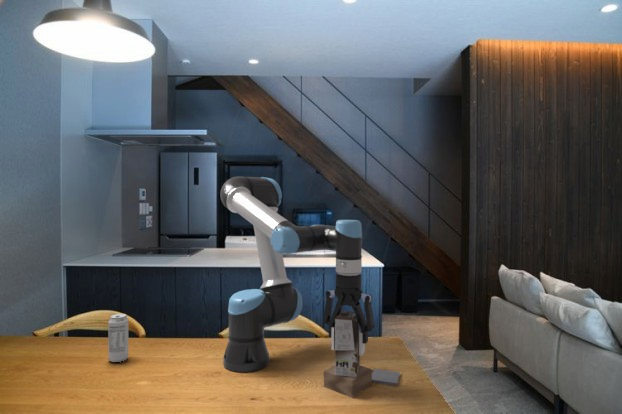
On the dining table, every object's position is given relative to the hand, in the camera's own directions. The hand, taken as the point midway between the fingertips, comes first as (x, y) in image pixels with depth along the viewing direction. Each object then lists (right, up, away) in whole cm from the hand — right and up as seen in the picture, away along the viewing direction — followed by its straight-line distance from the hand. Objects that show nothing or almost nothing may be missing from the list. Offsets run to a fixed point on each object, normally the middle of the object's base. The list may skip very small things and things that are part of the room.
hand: (348, 351), depth 115 cm
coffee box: (0, -6, 0) cm, 6 cm away
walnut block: (0, -11, 0) cm, 11 cm away
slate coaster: (+12, -10, +5) cm, 16 cm away
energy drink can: (-76, -10, +18) cm, 78 cm away
